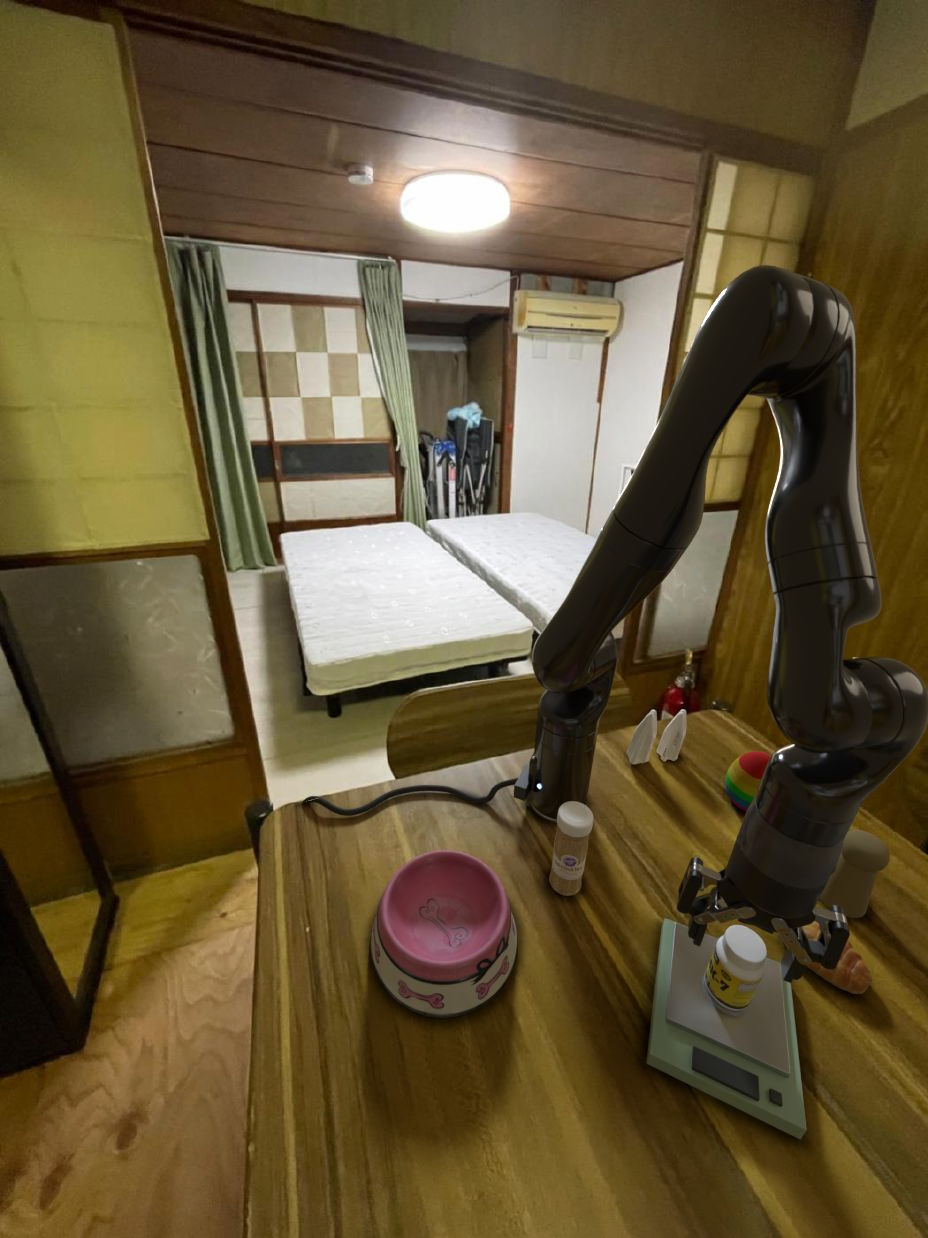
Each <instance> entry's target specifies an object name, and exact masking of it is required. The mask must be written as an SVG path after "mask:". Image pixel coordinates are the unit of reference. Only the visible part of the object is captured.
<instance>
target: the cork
mask: <svg viewBox="0 0 928 1238" xmlns="http://www.w3.org/2000/svg"><path fill="white" fill-rule="evenodd" d="M890 857H891V853H890V851H889V848H888V846H887V845H886V844H885V843H884V841H883V840H881V839H880V838H879V837H877V836H876V835H874V834H873V833H870V832H868V831H866V830H861V829H852V830H849V831H848V833H847V835H846V836H845V839H844V842H843V846H842V850H841V854H840V857H839V859H838V862H837V867H836V870H835V872H833V874H831V876H830V878H829V880H828V882H827V884H826V886H825V888H824V890H823V892H822V894H821V896H820V898H819V901H821V902H822V904H824V905H825V906H826V907H827V908H829V909H830V907H831V906H834V905H836V906H840V907H842V908H843V909H844V910H845V913H846V918H850V919H860V918H862V917H864V916H865V914H867V911H868V907H869V904H870V900H871V896H872V893H873V889H874V886H875V883H876V879H877V875H878V872H881V871H882V870H885V868H886V867H887V866H888V865H889V863H890V860H891V859H890Z"/></svg>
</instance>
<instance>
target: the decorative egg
mask: <svg viewBox="0 0 928 1238" xmlns="http://www.w3.org/2000/svg"><path fill="white" fill-rule="evenodd" d="M771 756H772V755H770V754H769V753H767V752H764V751H760V750H754V751H753V750H752V751H748V752H745V753H744V754H741V755H740V756H738V757H737V758H736V759H734V761H733V762H732V763H731V764H730V766H729V767H728V770H727V772H726V775H725V781H724V782H725V783H724V785H725V791H726V793H727V796H728V798H729V800H730V801H731V802H732V803H733V805H735V806H736V807H737V808H738V809H740V810H742V811H743V812H745V813H746V812H747V809H748V808H749V806H750V804H751V803H752V801H753V799H754V798H755V796H756V793H757V790H758V787H759V785H760V782H761V779H762V776H763V774H764V771H765V768H766V766H767V763H768V762H769V760H770V758H771Z"/></svg>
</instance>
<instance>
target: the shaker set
mask: <svg viewBox="0 0 928 1238" xmlns="http://www.w3.org/2000/svg"><path fill="white" fill-rule="evenodd" d="M657 714H658V713H657V710H656V709H651V710H650V711H649V712H648V713H647V714H646V716H645V717H643V719H642V720H641V721H640V723H639V724H638V725H637V727H636V728H635V729H634V731H633V734H632V737H631V738H630V742H629V745H628V748H627V750H626V756H627V758H628V761H629V763H630V764H631V765H637V764H644V763H647V762H649V761H650V756H651V753H652V749H653V747H654V744H655V741H656V739H657V738H656V737H657V733H658V715H657ZM686 734H687V710H686V709H683V708H682V709H680V711H678V713H677V714H676V715H675V716H674V717H673V719H672V720H671V721H670V722H669V723H668V724H667V725H666V727H665V728H664V730H663V731H662V735H661V737H660V741H659V743H658V745H657V747H656V751H655V752H656V753H657V754H658V755H659V756H660V760H661V761H662V762H666V761H667V760H668V761H669V760H671V761H672V762H675V761H676V760H678V758H679V754H680V751H681V748H682V745H683V744H684V741H685V739H686V736H687V735H686Z"/></svg>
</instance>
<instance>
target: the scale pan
mask: <svg viewBox="0 0 928 1238" xmlns="http://www.w3.org/2000/svg"><path fill="white" fill-rule="evenodd" d="M678 923H679V922H676V923H675V925H674V931H673V942H672V953H671V964H670V975H669V986H668V997H667V1008H666V1019H665V1022H667V1023H669V1024H671V1025H673V1026H676V1027H678V1028H680V1029H682V1030H684V1031H687V1032H689V1033H691V1034H693V1035H695V1036H697V1037H700V1038H702V1039H704V1040H706V1041H708V1042H710V1043H713V1044H715V1045H717V1046H719V1047H721V1048H723V1049H726V1050H728V1051H730V1052H732V1053H734V1054H736V1055H739V1056H741V1057H743V1058H745V1059H747V1060H749V1061H752V1062H754V1063H756V1064H758V1065H760V1066H763V1067H765V1068H767V1069H769V1070H771V1071H773V1072H776V1073H778V1074H780V1075H782V1076H784V1077H786V1078H789V1076H790V1064H789V1054H788V1043H787V1032H786V1022H785V1011H784V1001H783V990H782V979H781V969H780V963H781V962H779V963H778V961H776V960H774V959H771V958H769V959H768V957H766V959H765V962H764V963H765V971H764V975H763V977H762V979H761V981H760V983H759V985H758V987H757V989H756V991H755V993H754V995H753V997H752V999H751V1002H750V1004H749V1005H748V1006H747V1007H746V1008H745V1009H743V1010H739V1011H734V1010H730V1009H727V1008H725V1007H723V1006H722V1005H720V1004H719V1003H718V1002H717V1001H716V1000H715V999H714V998H713V997H712V996H711V994H710V993H709V991H708V989H707V987H706V984H705V972H706V969H707V967H708V964H709V961H710V959H711V956H712V954H713V951H714V948H715V946H716V943H717V941H718V940H719V938H717V937H715V936H712V935H710V934H707V933H705V934H704V937H703V940H702V943H701V945H700V947H699V946H697V945H694V944H693V939H692V938H690V937H689V936H688V926H687V927H686V925H684V924H682V923H679V924H678ZM681 924H682V925H681ZM683 925H684V926H683ZM706 934H707V935H706ZM709 935H710V936H709ZM711 936H712V937H711ZM714 937H715V938H714ZM716 938H717V939H716ZM770 959H771V960H770ZM773 960H774V961H773ZM775 961H776V962H775Z"/></svg>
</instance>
